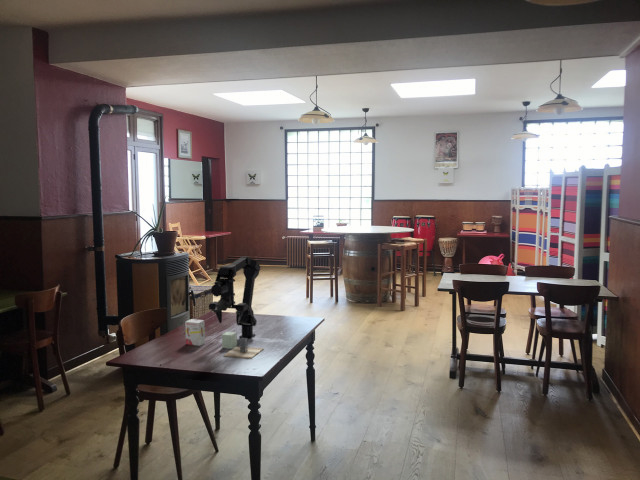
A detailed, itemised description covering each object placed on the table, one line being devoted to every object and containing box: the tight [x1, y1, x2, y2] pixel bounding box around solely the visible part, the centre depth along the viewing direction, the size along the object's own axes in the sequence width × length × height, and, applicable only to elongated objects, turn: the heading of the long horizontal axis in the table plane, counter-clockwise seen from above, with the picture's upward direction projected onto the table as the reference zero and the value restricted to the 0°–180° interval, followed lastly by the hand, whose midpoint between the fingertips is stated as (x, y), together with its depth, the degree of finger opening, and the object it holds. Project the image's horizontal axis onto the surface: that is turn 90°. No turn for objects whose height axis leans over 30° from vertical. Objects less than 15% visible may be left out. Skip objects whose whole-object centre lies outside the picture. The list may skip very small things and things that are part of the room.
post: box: [239, 337, 248, 353], centre depth 243 cm, size 3×3×6 cm
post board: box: [223, 345, 264, 360], centre depth 243 cm, size 14×14×1 cm
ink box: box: [184, 318, 206, 347], centre depth 258 cm, size 9×5×12 cm, turn 68°
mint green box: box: [221, 331, 238, 350], centre depth 253 cm, size 5×5×7 cm
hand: (229, 323), depth 252 cm, fingers open, 9 cm apart
